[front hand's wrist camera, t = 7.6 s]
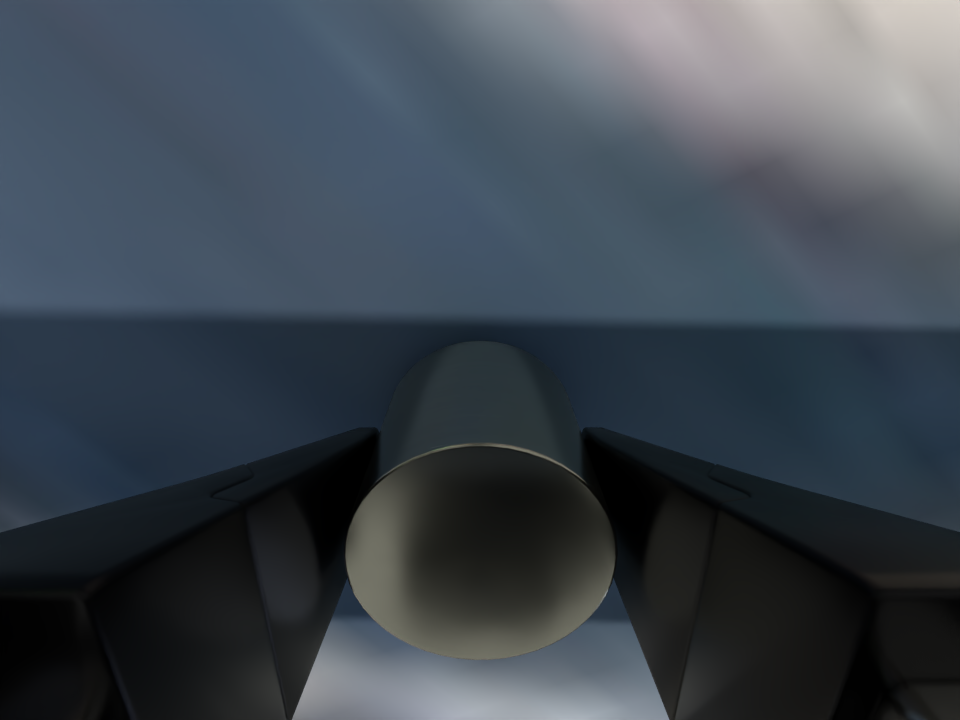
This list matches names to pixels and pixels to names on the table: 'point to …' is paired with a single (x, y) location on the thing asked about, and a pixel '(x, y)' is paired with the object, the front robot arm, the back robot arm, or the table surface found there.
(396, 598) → the tin
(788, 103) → the table surface
